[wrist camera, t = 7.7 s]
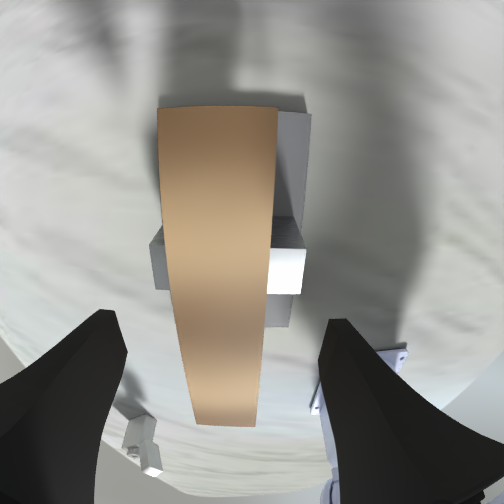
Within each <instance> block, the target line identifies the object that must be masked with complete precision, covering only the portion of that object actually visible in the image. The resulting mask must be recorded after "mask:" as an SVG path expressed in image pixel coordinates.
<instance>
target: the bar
mask: <svg viewBox="0 0 504 504" xmlns="http://www.w3.org/2000/svg"><path fill="white" fill-rule="evenodd" d="M278 108H279V107H263V106H188V107H171V108H157V118H158V158H159V178H160V194H161V207H162V219H163V230H164V240H165V250H166V258H167V267H168V275H169V282H170V289H171V296H172V303H173V310H174V316H175V322H176V328H177V334H178V340H179V345H180V351H181V356H182V361H183V366H184V371H185V376H186V380H187V385H188V390H189V394H190V399H191V403H192V407H193V411H194V416H195V420H196V424H200V425H214V426H236V427H255V424H256V414H257V404H258V393H259V382H260V371H261V360H262V348H263V337H264V325H265V312H266V300H267V286H268V273H269V259H270V245H271V230H272V215H273V199H274V183H275V166H276V148H277V128H278Z"/></svg>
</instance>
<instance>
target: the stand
mask: <svg viewBox="0 0 504 504" xmlns="http://www.w3.org/2000/svg"><path fill="white" fill-rule="evenodd" d="M157 125H158V118H157ZM310 129H311V114H308V113H297V112H284V111H278V128H277V148H276V166H275V183H274V199H273V215H272V230H271V245H270V259H269V273H268V286H267V300H266V312H265V325H264V327H288V326H289V320H290V313H291V306H292V299H293V294H300V291H301V285H302V278H303V271H304V264H305V257H306V247H305V244H304V241H303V239H302V236H301V228H302V218H303V209H304V199H305V189H306V178H307V167H308V155H309V142H310ZM158 161H159V158H158ZM159 181H160V178H159ZM160 197H161V194H160ZM161 210H162V207H161ZM162 222H163V219H162ZM149 248H150V255H151V262H152V269H153V276H154V282H155V288H156V289H159V290H170V292H171V289H170V282H169V275H168V267H167V258H166V250H165V240H164V230H163V225H162V226H161V228H160V229H159V231H158V232H157V234H156V235H155V237H154V238H153V240H152V242H151V243H150V245H149ZM171 299H172V296H171ZM172 305H173V303H172ZM173 312H174V310H173ZM174 318H175V316H174ZM175 324H176V322H175Z"/></svg>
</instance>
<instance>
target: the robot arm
mask: <svg viewBox="0 0 504 504" xmlns="http://www.w3.org/2000/svg"><path fill="white" fill-rule="evenodd" d="M127 353H128V351H127V348H126V346H125V343H124V340H123V336H122V333H121V330H120V327H119V324H118V321H117V317H116V314H115V311H113V310H104V309H99V310H98V311H96V312H95V313H94V314H92V315H91V316H90V317H89V318H88V319H86V320H85V321H84V322H83V323H82V324H80V325H79V326H78V327H77V328H76V329H74V330H73V331H72V332H71V333H70V334H68V335H67V336H66V337H65V338H64V339H63V340H61V341H60V342H59V343H58V344H57V345H55V346H54V347H53V348H52V349H50V350H49V351H48V352H46V353H45V354H44V355H43V356H41V357H40V358H39V359H38V360H36V361H35V362H34V363H32V364H31V365H30V366H28V367H27V368H25V369H24V370H22V371H21V372H19V373H18V374H16V375H15V376H13V377H11V378H10V379H8V380H6V381H5V382H3V383H1V384H0V504H94V487H95V473H96V465H97V457H98V452H99V446H100V441H101V436H102V432H103V429H104V425H105V422H106V419H107V416H108V414H109V411H110V408H111V405H112V402H113V400H114V397H115V394H116V391H117V389H118V386H119V383H120V380H121V378H122V374H123V370H124V366H125V362H126V357H127ZM407 355H408V350H407V349H396V350H388V351H378V352H375V351H374V350H373V348H372V347H371V346H370V345H369V344H368V343H367V342H366V341H365V339H364V338H363V337H362V336H361V335H360V334H359V333H358V331H357V330H356V329H355V328H354V327H353V326H352V324H351V323H350V322H349V321H348V320H347V319H329V321H328V325H327V329H326V332H325V336H324V340H323V344H322V347H321V351H320V355H319V358H318V365H319V374H320V384H319V387H318V390H317V393H316V396H315V398H314V401H313V404H312V407H311V409H310V413H311V414H312V415H317V414H320V419H321V425H322V430H323V436H324V441H325V447H326V453H327V458H328V461H329V463H330V464H331V466H332V467H333V469H332V475H333V478H331V479H329V480H328V481H327V482H326V484H325V486H324V489H323V491H322V493H321V498H320V504H481V502H480V501H481V500H483V499H484V498H485V495H484V492H483V490H484V489H486V488H487V487H489V486H490V485H492V484H494V483H495V482H497V481H498V480H499V479H501V478H502V477H504V444H502V443H500V442H497V441H495V440H492V439H490V438H488V437H485V436H483V435H481V434H479V433H477V432H475V431H473V430H471V429H469V428H467V427H466V426H464V425H462V424H460V423H459V422H457V421H455V420H454V419H452V418H451V417H449V416H448V415H446V414H445V413H443V412H442V411H440V410H439V409H437V408H436V407H435V406H433V405H432V404H431V403H429V402H428V401H427V400H426V399H424V398H423V397H422V396H421V395H420V394H418V393H417V392H416V391H415V390H414V389H412V388H411V387H410V386H409V385H408V384H407V383H406V382H405V381H404V380H403V379H402V378H401V377H400V376H398V372H399V370H400V368H401V366H402V364H403V363H404V361H405V359H406V357H407ZM484 504H504V492H502V493H501V494H499V495H497V496H496V497H494V498H493V499H491V500H490V501H488V502H486V503H484Z"/></svg>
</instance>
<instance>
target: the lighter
mask: <svg viewBox="0 0 504 504" xmlns="http://www.w3.org/2000/svg"><path fill="white" fill-rule="evenodd" d="M156 423H157V420H156V419H154V418H152V417H151V416H149V415H147V414H145V415H142V416H139V417H137V418H134V419H131V420H129V422H128V426H127V429H126V433H125V437H124V441H123V444H122V449H123V450H125V451H127V455H128V456H129V457H132V458H134V459H136V458H140V462H141V470H142V471H143V472H144V473H146V474H148V475H151V476H153V477H155V476H157V475H158V474H159V473H161V472H162V471H163V468H162V463H161V458H160V452H159V446H158V445H157V444H155V443H153V437H154V432H155V427H156Z"/></svg>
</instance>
